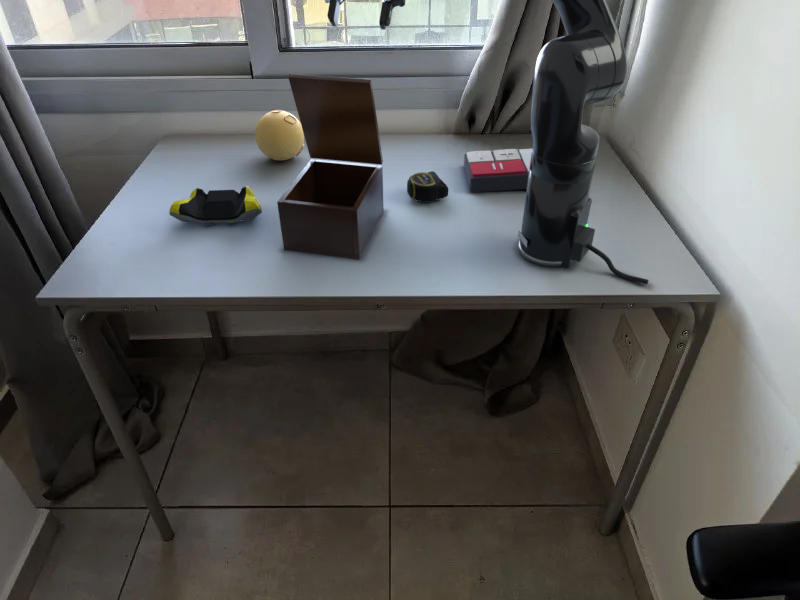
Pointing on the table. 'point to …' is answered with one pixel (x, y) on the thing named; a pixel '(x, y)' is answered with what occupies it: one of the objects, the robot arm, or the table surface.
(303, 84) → the lid
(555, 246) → the robot arm
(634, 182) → the table surface
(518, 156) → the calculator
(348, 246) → the chest
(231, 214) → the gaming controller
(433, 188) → the tape measure
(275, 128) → the stress ball
